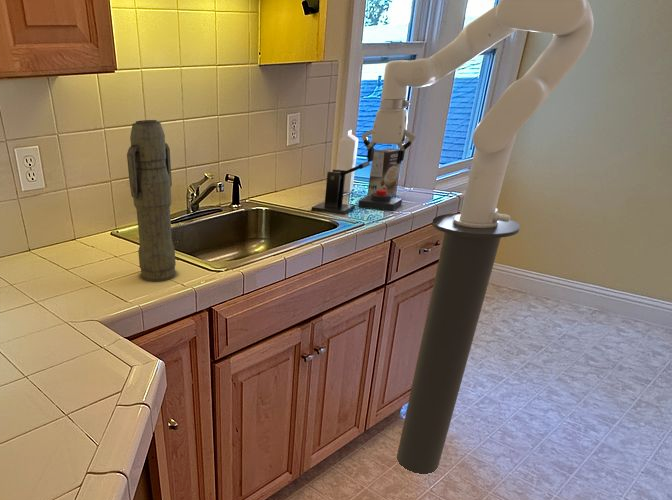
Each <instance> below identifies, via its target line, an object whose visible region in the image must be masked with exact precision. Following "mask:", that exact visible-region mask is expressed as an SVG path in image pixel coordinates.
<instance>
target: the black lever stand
mask: <svg viewBox="0 0 672 500" xmlns="http://www.w3.org/2000/svg"><path fill="white" fill-rule="evenodd" d="M339 171H340V172H339ZM345 171H346V170H336V169H335V168H334V169H332V171H331V170H328V171H327V173H326V174H327V175H326V183H325V193H324V194H325V196H324V201H322V202H319V203H317V204H315V205H313V206H311V211H313V212H322V213H329V214H336V215H346V214H348V213H349V212H352V211H353V210H355V209H356V205H355V204H346V203H343V202H344V193H345V192H344V184H345V175H346V174H345V175H343V176H342V178H341V173H342V172H345ZM340 178H341V179H340Z"/></svg>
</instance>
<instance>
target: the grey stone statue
mask: <svg viewBox="0 0 672 500" xmlns="http://www.w3.org/2000/svg"><path fill="white" fill-rule="evenodd" d="M129 141H130V147H128V149H127V153H126V159H127V160H126V161H127V171H128V180H129V189H130V195H131V197H132V198H133V205H134V208H135V209H136V220H137V230H138V240H139V247H138V251H137V253H138V262H139V263H138V265H139V268H140V277H141V279H142V280H145V281H148V282H164V281H168V280H169V281H170V280H171V279H173V278H175V276H176V275H177V274H176V273H177V272H176V265H177V264H176V263H177V262H176V249H175V246H174V242H173V235H172V234H173V233H172V220H171V205H172V188H171V187H172V186H173V180H172V167H171V165H172V163H171V149H170V146H169V145H168V143H167V142H166V135H165V132H164V128H163V126H162V123H161V122H160V121H158V120H157V119H145V120H136V121H135V123H132V124H131V130H130V136H129Z"/></svg>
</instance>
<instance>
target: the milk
mask: <svg viewBox="0 0 672 500" xmlns="http://www.w3.org/2000/svg"><path fill="white" fill-rule="evenodd" d="M352 132H353V131H352V129H350V130H348V131H347V135H346V136H344V137H342V138H341V139H339V141H338V149H337V150H338V151H337V160H336V169H335V170H346V171H347V170H349V169H352V168H354V167H356V166H357V158H358V157H357V156H358V149H359V148H358V147H359V140H360V139H359V138H358V137H357V136H356V135H354V134H352ZM355 172H356V170H355V171H353V172H350V173H348V174H346V175H345V184H344V193H351V192H352V191H353V190H354V181H355V174H356V173H355Z"/></svg>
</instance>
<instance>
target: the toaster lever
mask: <svg viewBox="0 0 672 500" xmlns="http://www.w3.org/2000/svg"><path fill="white" fill-rule="evenodd" d="M370 165H371V163H370V162H368V160H367V161H365V162H362V163H359V164H358V165H356V166H355V167H354V168H352V169H349V170H347V171H345V172H342V173H341V178H342V176H343V175H345V174H348V173H350V172H353V171H355V172H356V171H358V170H361V169H364V168H367V167H369V166H370ZM339 172H340V171H339ZM341 178H340V179H341Z"/></svg>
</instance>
